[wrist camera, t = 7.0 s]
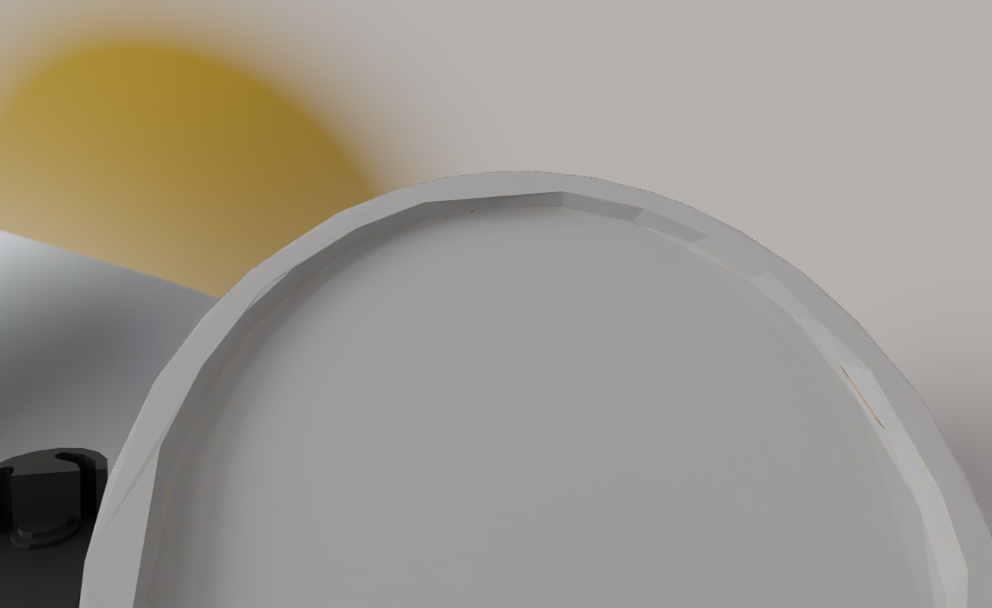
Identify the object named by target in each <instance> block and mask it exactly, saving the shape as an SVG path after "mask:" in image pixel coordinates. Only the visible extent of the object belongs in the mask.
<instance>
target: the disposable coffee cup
mask: <svg viewBox="0 0 992 608" xmlns="http://www.w3.org/2000/svg"><path fill="white" fill-rule="evenodd" d="M79 608H992V535H991V532H990V530H989V527H988V525H987V523H986V520H985V518H984V515H983V513H982V511H981V508H980V506H979V503H978V501H977V499H976V497H975V494H974V492H973V489H972V487H971V484H970V482H969V480H968V479H967V477H966V475H965V473H964V471H963V470H962V468H961V466H960V464H959V463H958V461H957V459H956V458H955V456H954V454H953V452H952V450H951V449H950V447H949V445H948V443H947V441H946V440H945V438H944V436H943V434H942V433H941V431H940V429H939V427H938V426H937V424H936V422H935V420H934V418H933V417H932V415H931V413H930V411H929V409H928V408H927V406H926V404H925V402H924V401H923V399H922V397H921V396H920V395H919V393H918V392H917V391H916V390H915V389H914V388H913V386H912V385H911V384H910V383H909V382H908V380H907V379H906V378H905V377H904V376H903V375H902V373H901V372H900V371H899V370H898V369H897V368H896V366H895V365H894V364H893V363H892V361H891V360H890V359H889V358H888V357H887V355H886V354H885V353H884V352H883V351H882V349H881V348H880V347H879V346H878V345H877V344H876V342H875V341H874V340H873V339H872V338H871V336H870V335H869V334H868V333H867V332H866V330H865V329H864V328H863V327H862V326H861V325H860V323H859V322H858V321H857V320H856V319H855V318H853V317H852V316H851V315H850V314H849V313H848V312H847V311H846V310H844V309H843V308H842V307H841V306H840V305H839V304H838V303H837V302H836V301H835V300H833V299H832V298H831V297H830V296H829V295H828V294H827V293H826V292H825V291H823V290H822V289H821V288H820V287H819V286H818V285H817V284H816V283H815V282H813V281H812V280H811V279H810V278H809V277H808V276H807V275H806V274H805V273H803V272H802V271H800V270H799V269H797V268H796V267H794V266H793V265H791V264H790V263H788V262H787V261H785V260H784V259H782V258H781V257H779V256H778V255H776V254H775V253H773V252H772V251H770V250H769V249H767V248H766V247H764V246H763V245H761V244H760V243H758V242H757V241H755V240H754V239H752V238H751V237H749V236H748V235H746V234H744V233H743V232H742V231H739V230H737V229H735V228H733V227H731V226H729V225H727V224H725V223H723V222H721V221H719V220H717V219H715V218H713V217H711V216H709V215H707V214H705V213H703V212H701V211H699V210H697V209H695V208H693V207H691V206H689V205H686V204H683V203H681V202H678V201H675V200H673V199H670V198H667V197H664V196H662V195H659V194H656V193H653V192H650V191H646V190H642V189H638V188H634V187H630V186H626V185H622V184H618V183H614V182H611V181H607V180H603V179H598V178H595V177H586V176H577V175H569V174H559V173H551V172H541V171H510V172H509V171H503V172H488V173H479V174H470V175H460V176H451V177H445V178H441V179H437V180H433V181H429V182H424V183H420V184H416V185H412V186H408V187H404V188H400V189H397V190H394V191H391V192H389V193H386V194H384V195H381V196H379V197H376V198H373V199H371V200H368V201H366V202H363V203H361V204H358V205H356V206H353V207H351V208H348V209H345V210H343V211H340V212H339V213H337V214H336V215H334V216H333V217H331V218H329V219H328V220H326V221H325V222H323V223H321V224H320V225H318V226H317V227H315V228H313V229H312V230H310V231H309V232H307V233H306V234H304V235H303V236H301V237H299V238H298V239H296V240H295V241H293V242H292V243H290V244H289V245H287V246H286V247H284V248H283V249H281V250H280V251H278V252H277V253H275V254H274V255H273V256H271V257H269V258H268V259H266V260H265V261H263V262H262V263H260V264H259V265H257V266H256V267H254V268H253V269H251V270H250V271H249V272H248V273H247V274H246V275H245V276H244V277H243V278H241V279H240V280H239V282H237V283H236V284H235V285H234V286H233V288H232V289H230V290H229V291H228V292H227V294H225V295H224V296H223V297H222V298H221V299H220V300H219V301H218V302H217V303H216V304H215V305H214V306H213V307H212V308H211V309H210V310H209V311H208V312H207V313H206V314H205V315H204V316H203V317H202V319H201V320H200V321H199V323H198V324H197V325H196V327H195V328H194V329H193V330H192V332H191V333H190V334H189V336H188V337H187V338H186V340H185V341H184V342H183V344H182V345H181V346H180V348H179V349H178V350H177V351H176V353H175V354H174V355H173V357H172V358H171V359H170V361H169V362H168V363H167V365H166V366H165V367H164V368H163V370H162V371H161V372H160V374H159V375H158V376H157V378H156V379H155V381H154V383H153V385H152V387H151V389H150V392H149V394H148V396H147V398H146V400H145V402H144V404H143V406H142V408H141V410H140V412H139V415H138V417H137V419H136V421H135V423H134V425H133V427H132V429H131V431H130V433H129V435H128V438H127V440H126V442H125V444H124V446H123V448H122V450H121V452H120V454H119V456H118V458H117V460H116V463H115V465H114V467H113V469H112V471H111V473H110V475H109V477H108V481H107V485H106V488H105V492H104V495H103V499H102V502H101V506H100V509H99V513H98V517H97V520H96V524H95V527H94V531H93V534H92V538H91V541H90V545H89V549H88V552H87V556H86V559H85V564H84V572H83V580H82V588H81V596H80V605H79Z"/></svg>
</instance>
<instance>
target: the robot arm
mask: <svg viewBox="0 0 992 608" xmlns="http://www.w3.org/2000/svg"><path fill="white" fill-rule="evenodd" d="M107 481H108V469H107V458H105V457H104V456H103V455H102V454H100V453H99V452H96V451H92V450H88V449H83V448H56V449H49V450H41V451H35V452H31V453H27V454H24V455H20V456H16V457H12V458H10V459H7V460H5V461H3V462H1V463H0V608H79V605H80V596H81V588H82V580H83V572H84V564H85V559H86V556H87V552H88V549H89V545H90V541H91V538H92V534H93V531H94V527H95V524H96V520H97V517H98V513H99V509H100V506H101V502H102V499H103V495H104V492H105V488H106V485H107Z"/></svg>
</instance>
